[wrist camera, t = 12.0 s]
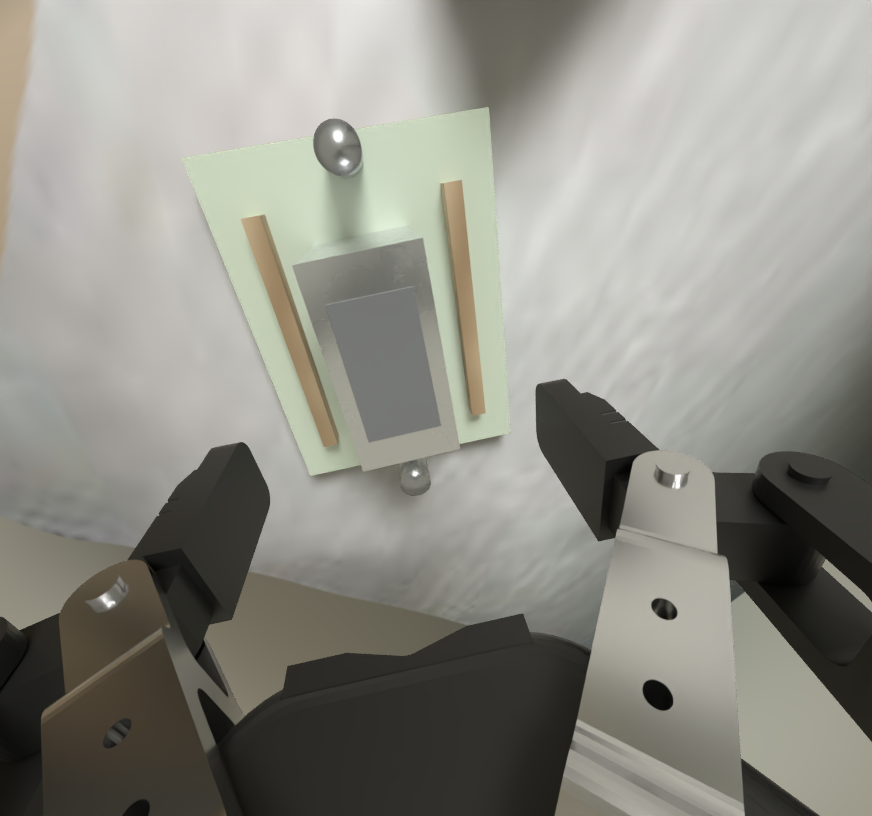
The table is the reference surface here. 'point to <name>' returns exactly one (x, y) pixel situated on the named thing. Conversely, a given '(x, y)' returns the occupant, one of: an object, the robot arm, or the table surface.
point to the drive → (381, 343)
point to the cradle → (356, 215)
